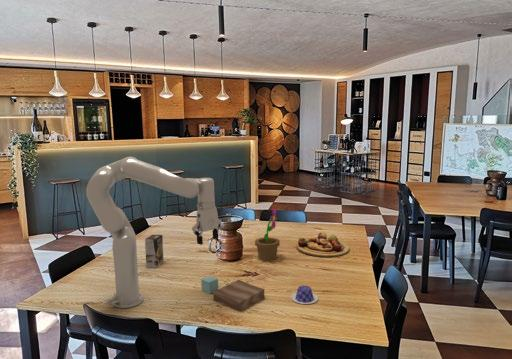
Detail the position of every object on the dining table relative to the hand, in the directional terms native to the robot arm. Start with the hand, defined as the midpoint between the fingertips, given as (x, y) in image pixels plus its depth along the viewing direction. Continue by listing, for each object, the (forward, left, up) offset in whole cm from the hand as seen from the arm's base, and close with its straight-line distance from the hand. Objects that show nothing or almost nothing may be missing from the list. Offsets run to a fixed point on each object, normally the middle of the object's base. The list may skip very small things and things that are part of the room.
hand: (207, 241), depth 174 cm
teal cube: (0, 0, -24) cm, 24 cm away
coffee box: (+2, +47, -24) cm, 52 cm away
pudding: (+21, -39, -24) cm, 51 cm away
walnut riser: (+2, -17, -24) cm, 29 cm away
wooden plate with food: (+83, -11, -24) cm, 87 cm away
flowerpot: (+49, +5, -24) cm, 55 cm away
